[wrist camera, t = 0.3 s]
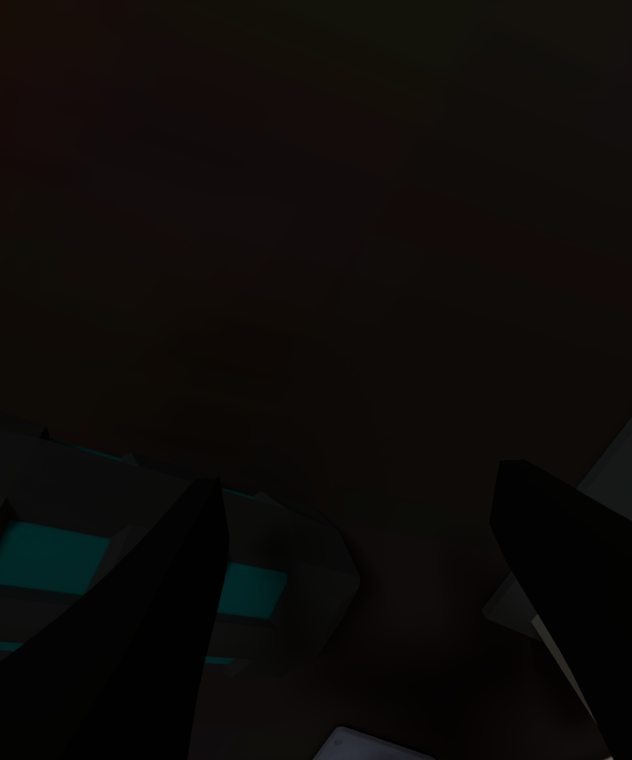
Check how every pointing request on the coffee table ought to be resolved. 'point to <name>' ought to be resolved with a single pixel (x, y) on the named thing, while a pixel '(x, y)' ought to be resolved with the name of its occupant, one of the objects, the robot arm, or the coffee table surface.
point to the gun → (133, 521)
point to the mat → (603, 483)
